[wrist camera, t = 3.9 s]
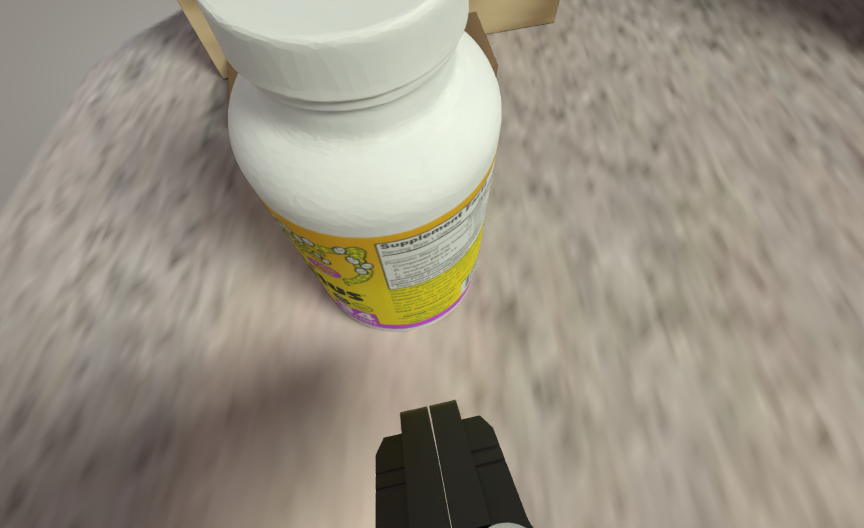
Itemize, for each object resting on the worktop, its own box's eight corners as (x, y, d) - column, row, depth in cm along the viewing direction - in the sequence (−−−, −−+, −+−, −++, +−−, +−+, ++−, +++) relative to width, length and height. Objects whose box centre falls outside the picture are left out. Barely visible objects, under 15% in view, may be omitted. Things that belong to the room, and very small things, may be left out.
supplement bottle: (306, 240, 19) (89, -95, 7) (430, 181, 20) (412, -185, 9) (366, 367, 17) (179, 161, 5) (504, 292, 18) (618, -17, 6)
